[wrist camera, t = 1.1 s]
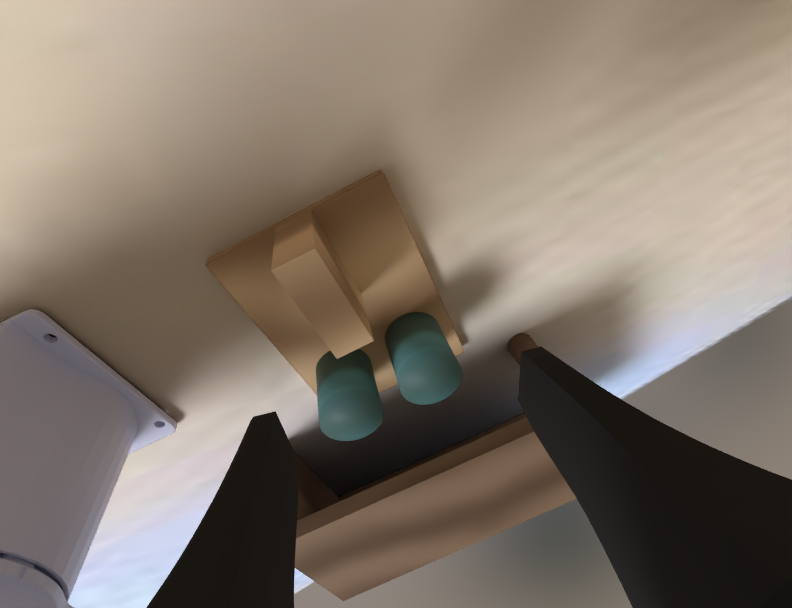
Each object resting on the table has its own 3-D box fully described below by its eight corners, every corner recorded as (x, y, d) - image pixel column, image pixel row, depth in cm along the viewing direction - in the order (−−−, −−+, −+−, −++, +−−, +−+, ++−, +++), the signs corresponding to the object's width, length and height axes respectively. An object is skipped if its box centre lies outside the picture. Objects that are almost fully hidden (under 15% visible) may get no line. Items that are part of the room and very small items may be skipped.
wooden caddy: (274, 446, 26) (269, 550, 21) (528, 329, 25) (591, 405, 20) (334, 504, 31) (343, 601, 25) (548, 408, 30) (604, 486, 25)
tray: (209, 255, 19) (185, 314, 15) (379, 167, 18) (404, 202, 14) (332, 402, 26) (339, 471, 21) (458, 342, 25) (491, 399, 21)
